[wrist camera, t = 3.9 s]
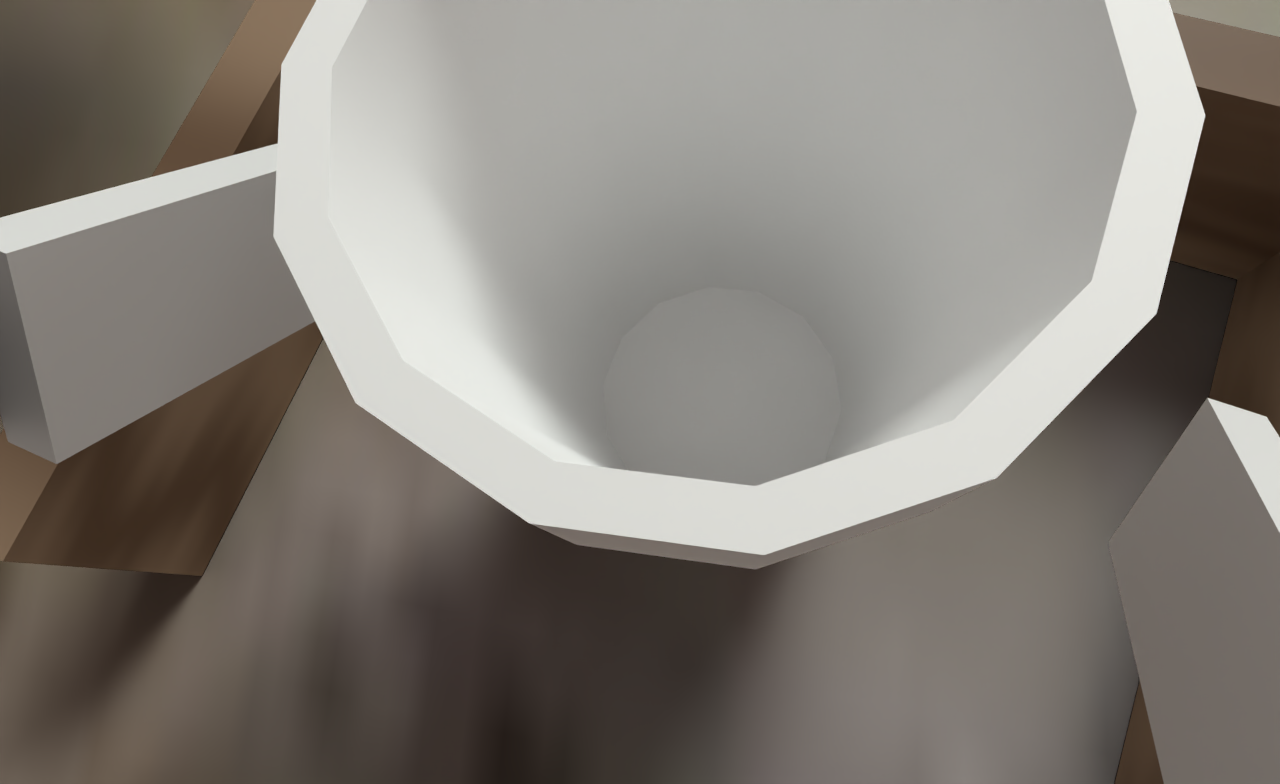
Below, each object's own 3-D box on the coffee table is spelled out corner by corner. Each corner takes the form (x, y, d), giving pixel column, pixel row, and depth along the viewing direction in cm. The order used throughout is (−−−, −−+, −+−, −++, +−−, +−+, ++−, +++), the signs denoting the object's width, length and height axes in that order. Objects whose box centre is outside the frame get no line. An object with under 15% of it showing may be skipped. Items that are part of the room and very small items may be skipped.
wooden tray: (442, 6, 25) (357, -176, 19) (1314, 245, 20) (1547, 98, 14) (155, 554, 21) (-58, 532, 16) (1143, 1009, 16) (1367, 1222, 11)
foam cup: (724, 174, 22) (716, -373, 10) (987, 401, 20) (1413, 50, 8) (470, 407, 21) (111, 119, 9) (715, 675, 19) (690, 793, 7)
